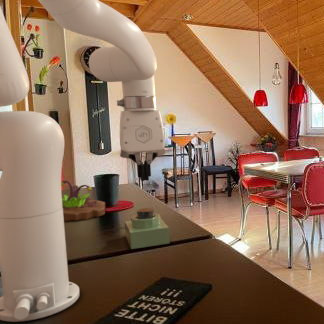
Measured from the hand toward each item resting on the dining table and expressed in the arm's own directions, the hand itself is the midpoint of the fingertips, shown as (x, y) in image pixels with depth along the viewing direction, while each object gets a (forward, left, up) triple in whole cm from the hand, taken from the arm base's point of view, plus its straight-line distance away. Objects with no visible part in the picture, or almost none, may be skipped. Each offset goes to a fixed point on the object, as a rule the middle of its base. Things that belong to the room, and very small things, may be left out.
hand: (144, 179), depth 95 cm
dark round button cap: (0, 0, -10) cm, 10 cm away
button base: (0, 0, -15) cm, 15 cm away
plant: (+39, +17, -15) cm, 45 cm away
